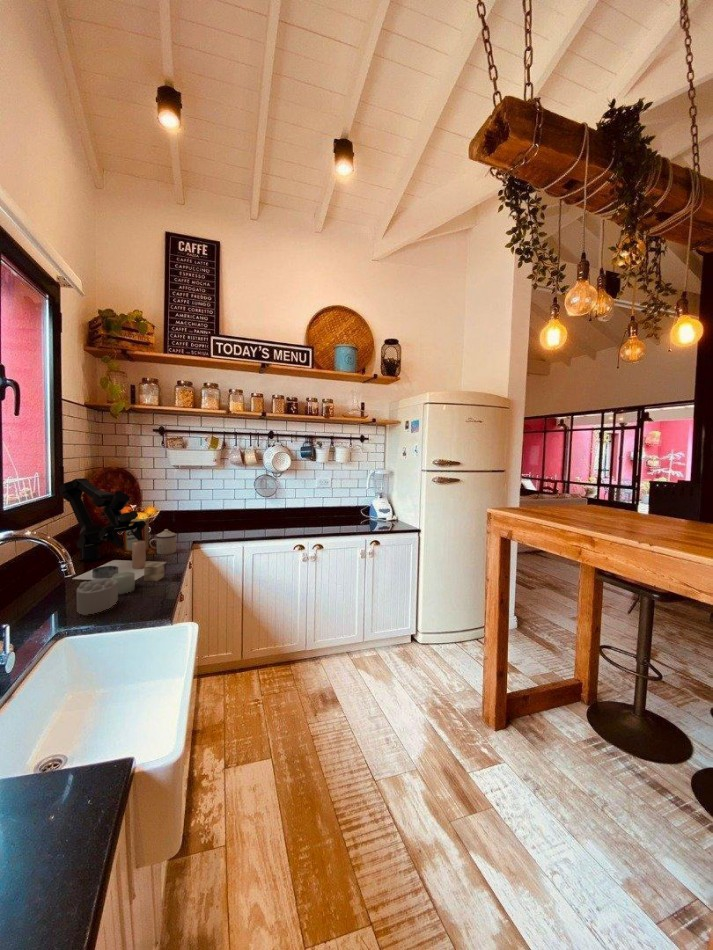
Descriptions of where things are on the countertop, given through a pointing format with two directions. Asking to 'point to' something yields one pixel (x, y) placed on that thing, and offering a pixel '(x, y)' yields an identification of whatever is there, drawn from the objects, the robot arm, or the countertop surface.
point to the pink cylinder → (138, 554)
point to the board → (122, 567)
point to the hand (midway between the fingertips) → (132, 544)
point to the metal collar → (104, 572)
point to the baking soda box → (131, 538)
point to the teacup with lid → (165, 542)
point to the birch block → (153, 571)
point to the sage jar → (125, 582)
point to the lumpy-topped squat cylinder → (96, 595)
